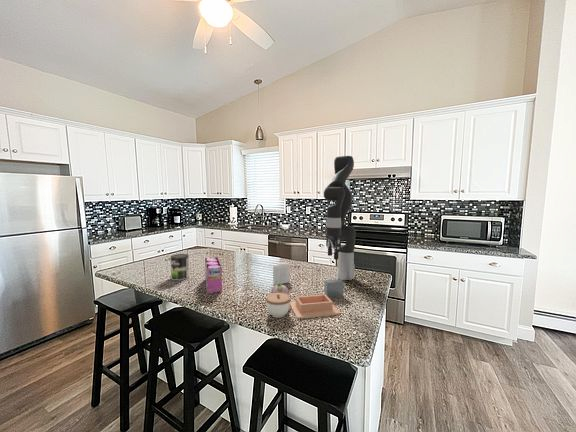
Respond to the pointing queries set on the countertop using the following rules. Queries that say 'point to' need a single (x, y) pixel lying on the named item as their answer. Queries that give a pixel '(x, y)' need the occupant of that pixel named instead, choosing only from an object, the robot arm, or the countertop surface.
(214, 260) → the gum box
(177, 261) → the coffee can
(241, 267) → the countertop surface
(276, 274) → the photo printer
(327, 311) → the caddy
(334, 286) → the grey rectangular block
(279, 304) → the lidded jar
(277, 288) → the decorative fruit
